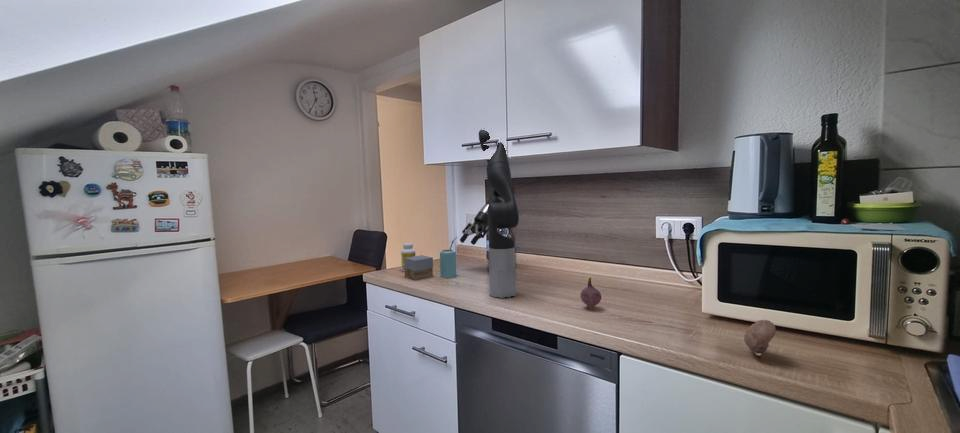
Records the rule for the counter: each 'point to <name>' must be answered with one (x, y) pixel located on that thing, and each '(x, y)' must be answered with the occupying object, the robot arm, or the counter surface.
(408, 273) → the bottom slab
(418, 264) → the top slab
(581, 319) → the counter surface
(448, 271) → the teal block
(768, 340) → the mushroom
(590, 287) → the vegetable
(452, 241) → the mate gourd
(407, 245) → the supplement bottle
